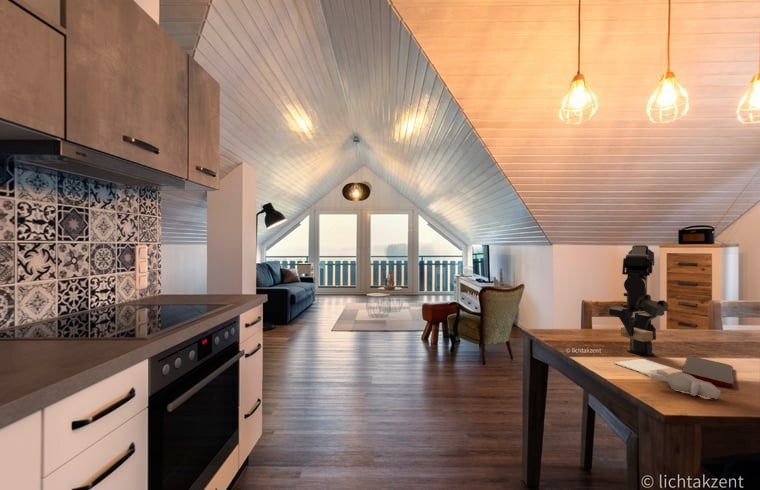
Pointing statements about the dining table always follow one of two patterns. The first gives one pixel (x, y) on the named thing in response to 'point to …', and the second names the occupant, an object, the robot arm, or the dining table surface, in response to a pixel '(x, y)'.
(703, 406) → the dining table surface
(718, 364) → the grey and red slab
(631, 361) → the mat
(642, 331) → the slotted tan box
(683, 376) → the bunny figurine
